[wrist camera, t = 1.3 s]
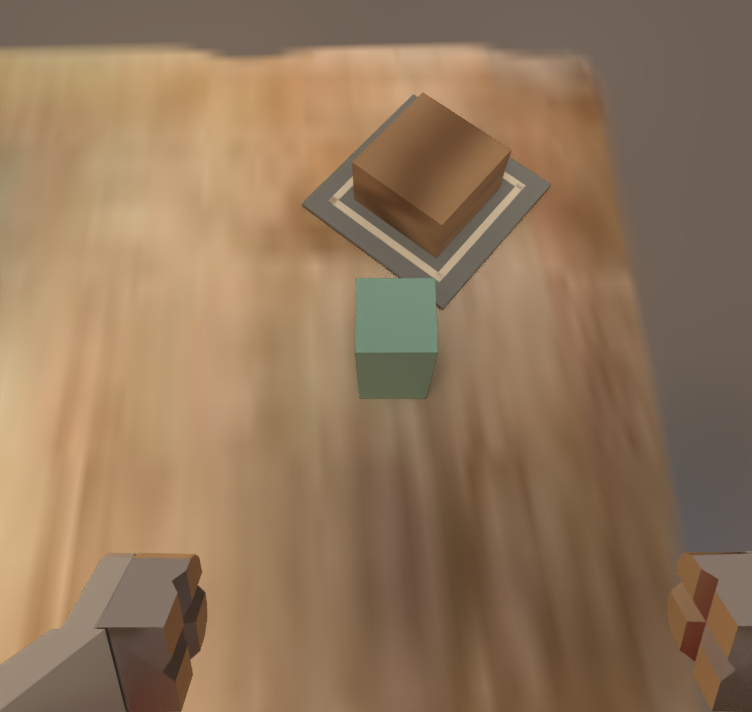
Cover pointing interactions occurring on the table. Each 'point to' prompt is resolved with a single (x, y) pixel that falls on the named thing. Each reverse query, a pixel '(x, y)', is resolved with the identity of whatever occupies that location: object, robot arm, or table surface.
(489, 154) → the base block
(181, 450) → the table surface
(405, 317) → the pillar
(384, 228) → the board
